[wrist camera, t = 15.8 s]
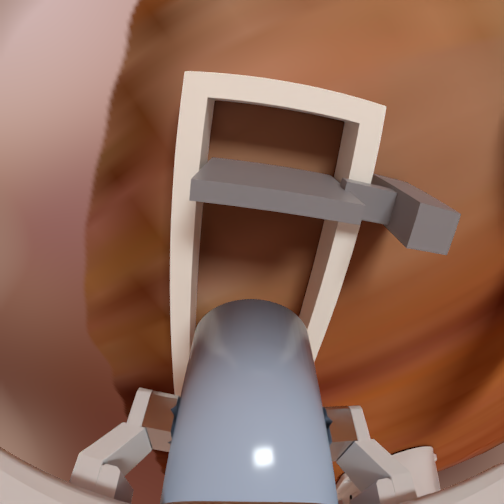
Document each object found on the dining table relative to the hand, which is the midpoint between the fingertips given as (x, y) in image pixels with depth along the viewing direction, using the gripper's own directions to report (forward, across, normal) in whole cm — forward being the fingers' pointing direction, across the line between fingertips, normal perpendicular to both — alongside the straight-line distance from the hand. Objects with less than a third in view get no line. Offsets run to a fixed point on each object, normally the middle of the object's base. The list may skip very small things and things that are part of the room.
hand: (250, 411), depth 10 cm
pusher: (+10, -2, -7) cm, 12 cm away
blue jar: (+4, 0, 0) cm, 4 cm away
